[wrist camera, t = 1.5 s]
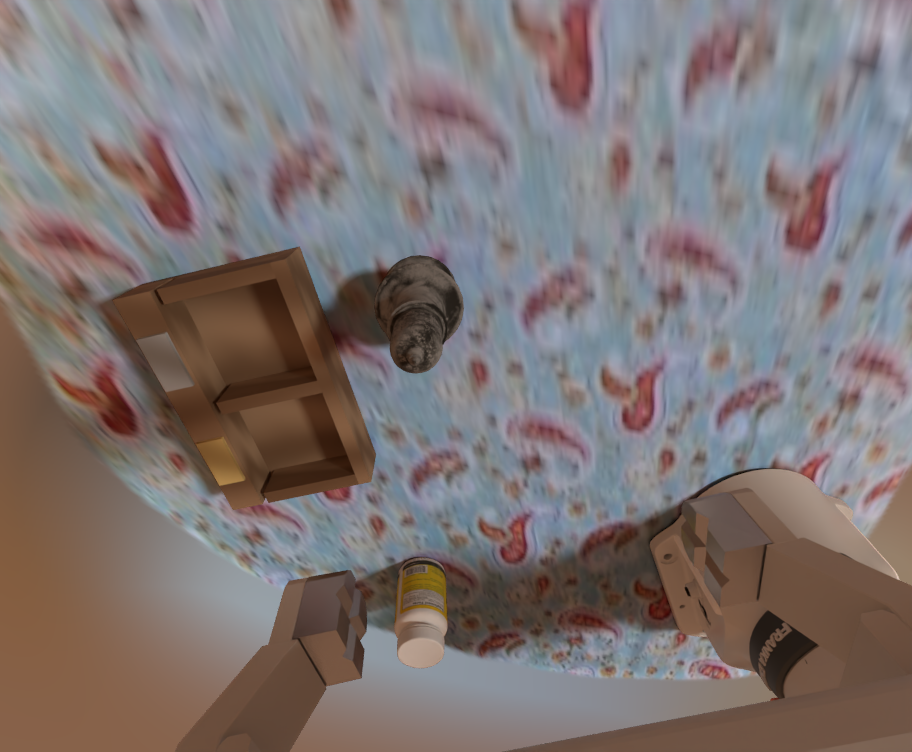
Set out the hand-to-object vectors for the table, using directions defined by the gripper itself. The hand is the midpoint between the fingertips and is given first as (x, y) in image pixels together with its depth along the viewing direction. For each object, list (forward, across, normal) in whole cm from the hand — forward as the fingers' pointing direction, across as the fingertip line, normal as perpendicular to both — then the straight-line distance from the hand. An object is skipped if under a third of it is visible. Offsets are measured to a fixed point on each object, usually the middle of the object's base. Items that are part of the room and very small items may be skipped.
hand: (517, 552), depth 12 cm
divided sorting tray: (+26, +16, +5) cm, 30 cm away
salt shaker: (+26, +2, +1) cm, 26 cm away
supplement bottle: (+25, +9, +29) cm, 40 cm away
